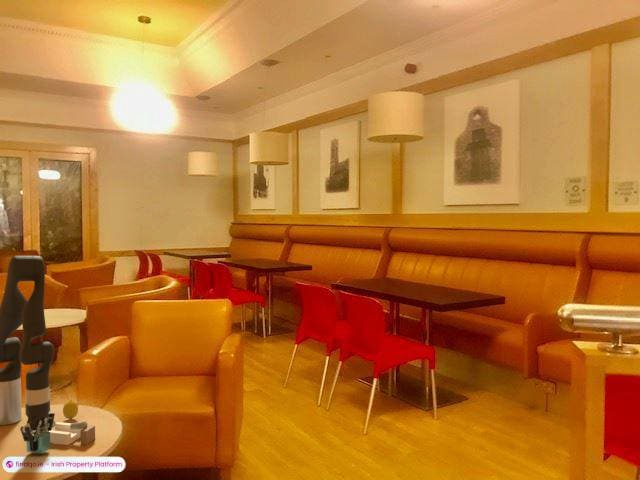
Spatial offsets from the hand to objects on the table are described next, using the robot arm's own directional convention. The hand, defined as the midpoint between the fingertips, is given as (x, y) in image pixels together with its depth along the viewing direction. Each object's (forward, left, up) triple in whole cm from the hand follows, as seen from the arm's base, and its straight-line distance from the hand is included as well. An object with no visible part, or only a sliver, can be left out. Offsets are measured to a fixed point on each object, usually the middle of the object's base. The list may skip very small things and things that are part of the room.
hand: (38, 447), depth 182 cm
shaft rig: (0, +12, -2) cm, 12 cm away
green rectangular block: (0, 0, -1) cm, 1 cm away
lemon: (-9, +28, -2) cm, 29 cm away
